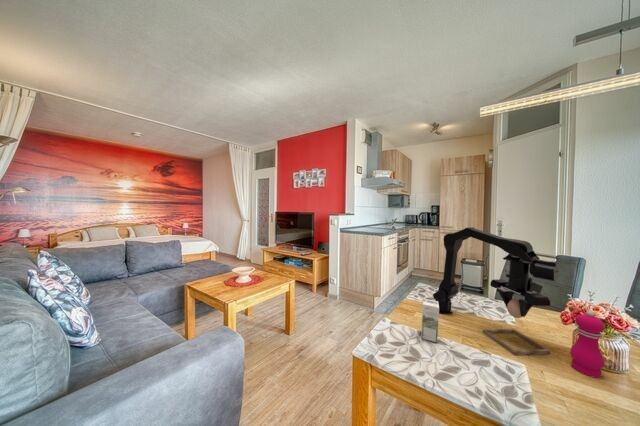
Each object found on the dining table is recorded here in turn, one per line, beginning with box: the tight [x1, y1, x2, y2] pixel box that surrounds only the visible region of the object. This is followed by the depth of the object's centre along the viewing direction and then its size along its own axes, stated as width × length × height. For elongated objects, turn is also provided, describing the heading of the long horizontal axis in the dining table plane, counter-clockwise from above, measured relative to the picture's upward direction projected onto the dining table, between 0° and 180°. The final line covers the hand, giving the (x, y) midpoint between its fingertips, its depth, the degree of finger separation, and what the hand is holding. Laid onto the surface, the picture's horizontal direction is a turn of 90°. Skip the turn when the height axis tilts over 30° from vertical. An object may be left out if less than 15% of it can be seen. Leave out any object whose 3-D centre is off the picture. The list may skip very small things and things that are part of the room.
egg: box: [506, 298, 523, 319], centre depth 86 cm, size 5×5×7 cm
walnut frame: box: [482, 328, 551, 357], centre depth 87 cm, size 14×14×1 cm
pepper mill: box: [569, 310, 606, 378], centre depth 72 cm, size 7×7×20 cm
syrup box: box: [420, 298, 440, 344], centre depth 88 cm, size 6×6×14 cm
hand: (515, 312), depth 86 cm, fingers closed on egg, 5 cm apart
